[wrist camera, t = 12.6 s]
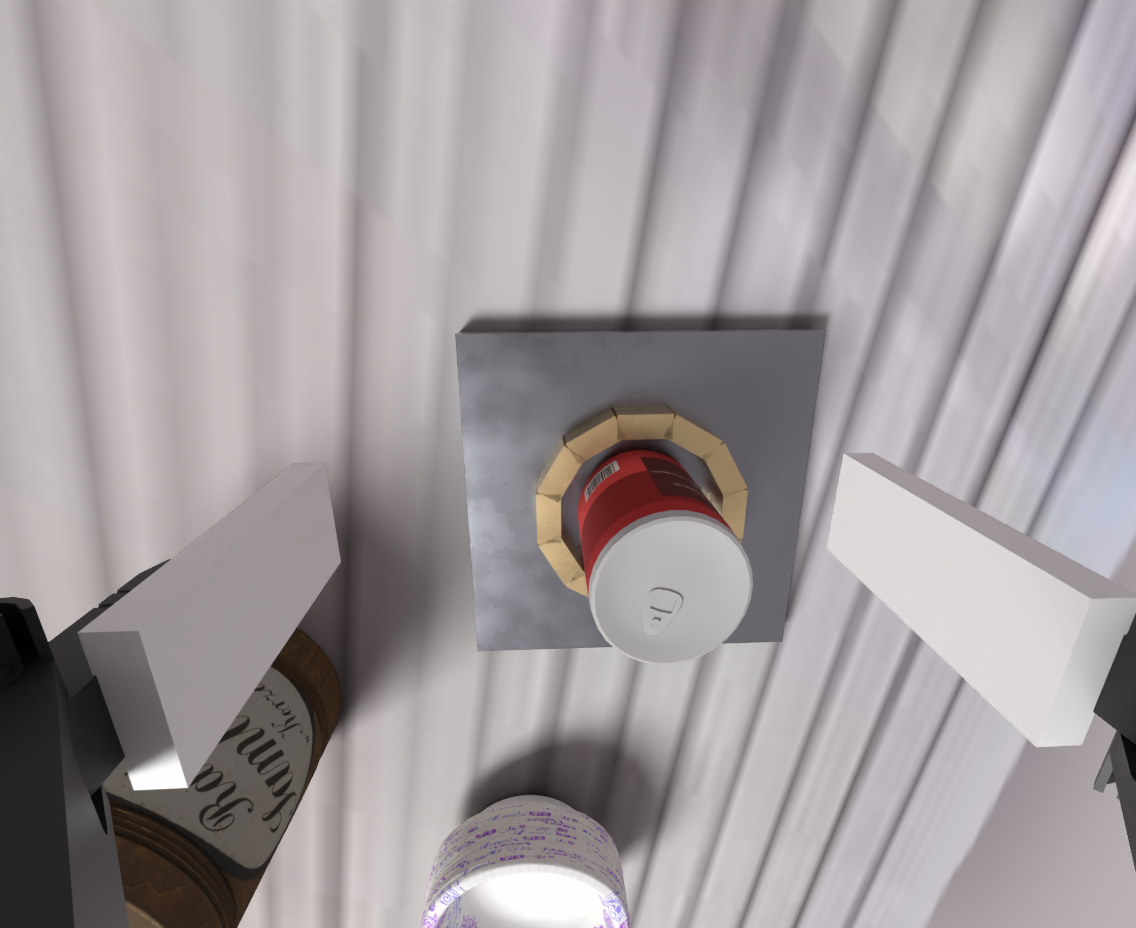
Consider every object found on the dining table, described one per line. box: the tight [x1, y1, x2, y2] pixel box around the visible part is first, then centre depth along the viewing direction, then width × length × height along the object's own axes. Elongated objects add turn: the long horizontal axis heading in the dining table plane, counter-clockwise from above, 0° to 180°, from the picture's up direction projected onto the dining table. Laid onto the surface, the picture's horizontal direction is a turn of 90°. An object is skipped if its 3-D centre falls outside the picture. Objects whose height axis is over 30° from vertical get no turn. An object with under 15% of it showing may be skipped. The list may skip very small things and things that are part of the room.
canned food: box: [578, 450, 753, 664], centre depth 30 cm, size 8×8×11 cm
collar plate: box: [455, 329, 826, 651], centre depth 35 cm, size 22×22×4 cm
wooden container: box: [102, 629, 341, 928], centre depth 30 cm, size 15×15×22 cm
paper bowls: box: [421, 795, 630, 928], centre depth 43 cm, size 15×15×8 cm
